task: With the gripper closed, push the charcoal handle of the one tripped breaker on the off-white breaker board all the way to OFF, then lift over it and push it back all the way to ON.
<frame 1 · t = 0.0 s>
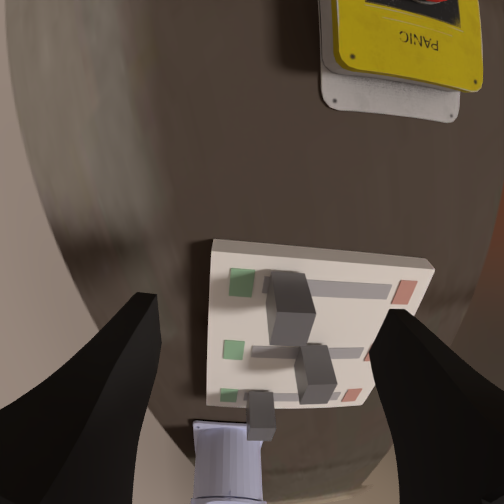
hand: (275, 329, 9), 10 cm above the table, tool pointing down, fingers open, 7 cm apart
tripped breaker handle: (314, 374, 20), point 4 cm above the table, slide at 3.0 cm
emergency button: (389, 0, 12), on the table
breaker board: (306, 338, 24), on the table
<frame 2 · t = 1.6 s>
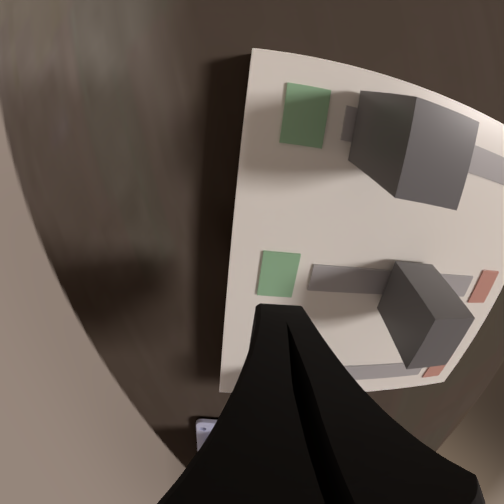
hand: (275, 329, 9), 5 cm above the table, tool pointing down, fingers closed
tripped breaker handle: (422, 312, 11), point 4 cm above the table, slide at 3.0 cm
breaker board: (389, 264, 14), on the table
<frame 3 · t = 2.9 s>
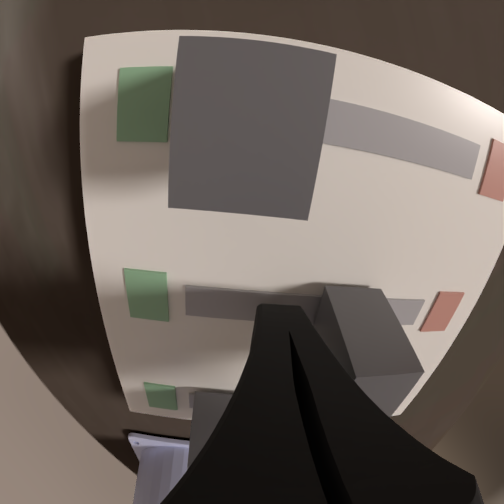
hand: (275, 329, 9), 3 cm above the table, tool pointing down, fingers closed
tripped breaker handle: (357, 354, 9), point 4 cm above the table, slide at 2.0 cm, touching gripper
breaker board: (307, 283, 12), on the table
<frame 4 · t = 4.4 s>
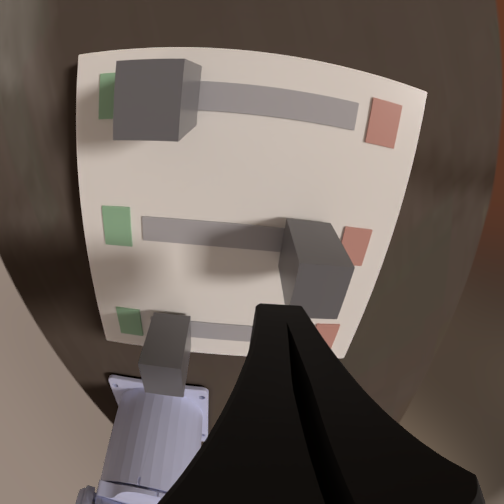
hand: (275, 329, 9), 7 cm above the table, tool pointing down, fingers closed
tripped breaker handle: (311, 266, 13), point 4 cm above the table, slide at -0.1 cm
breaker board: (236, 221, 15), on the table
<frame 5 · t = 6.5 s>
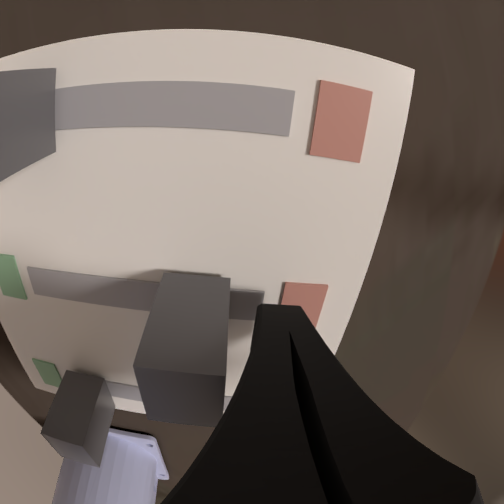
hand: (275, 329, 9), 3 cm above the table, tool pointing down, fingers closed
tripped breaker handle: (189, 347, 8), point 4 cm above the table, slide at 0.8 cm, touching gripper
breaker board: (143, 269, 11), on the table
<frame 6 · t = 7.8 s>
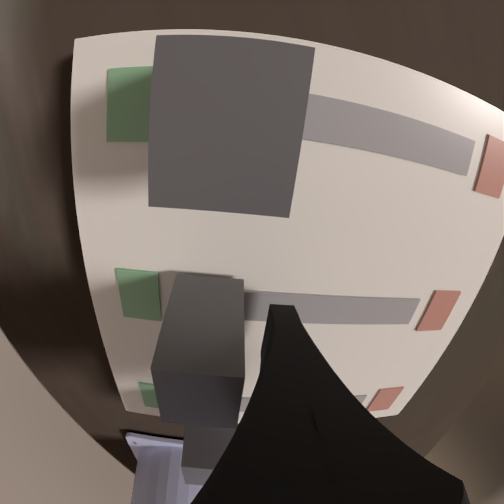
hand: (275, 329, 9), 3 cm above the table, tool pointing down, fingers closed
tripped breaker handle: (203, 349, 8), point 4 cm above the table, slide at 6.3 cm, touching gripper
breaker board: (301, 282, 12), on the table
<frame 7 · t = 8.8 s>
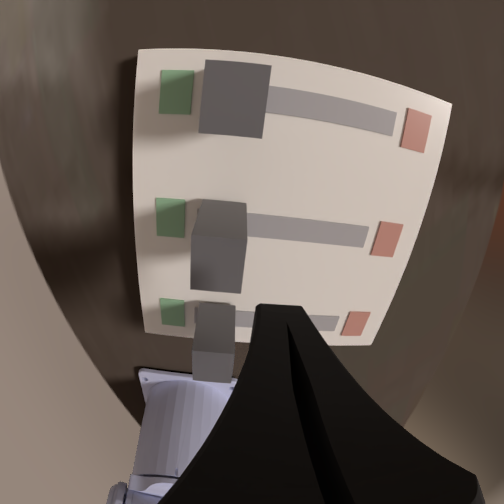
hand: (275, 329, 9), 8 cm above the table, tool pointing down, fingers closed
tripped breaker handle: (220, 242, 13), point 4 cm above the table, slide at 6.1 cm
breaker board: (282, 215, 17), on the table
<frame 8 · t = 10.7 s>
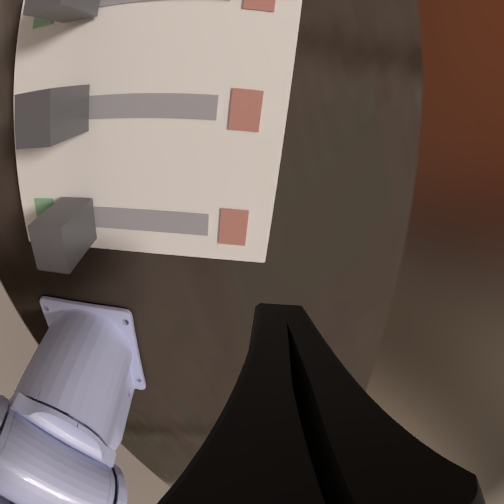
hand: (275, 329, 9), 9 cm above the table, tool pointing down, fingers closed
tripped breaker handle: (53, 113, 11), point 4 cm above the table, slide at 6.1 cm
breaker board: (138, 103, 14), on the table
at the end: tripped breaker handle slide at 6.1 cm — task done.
